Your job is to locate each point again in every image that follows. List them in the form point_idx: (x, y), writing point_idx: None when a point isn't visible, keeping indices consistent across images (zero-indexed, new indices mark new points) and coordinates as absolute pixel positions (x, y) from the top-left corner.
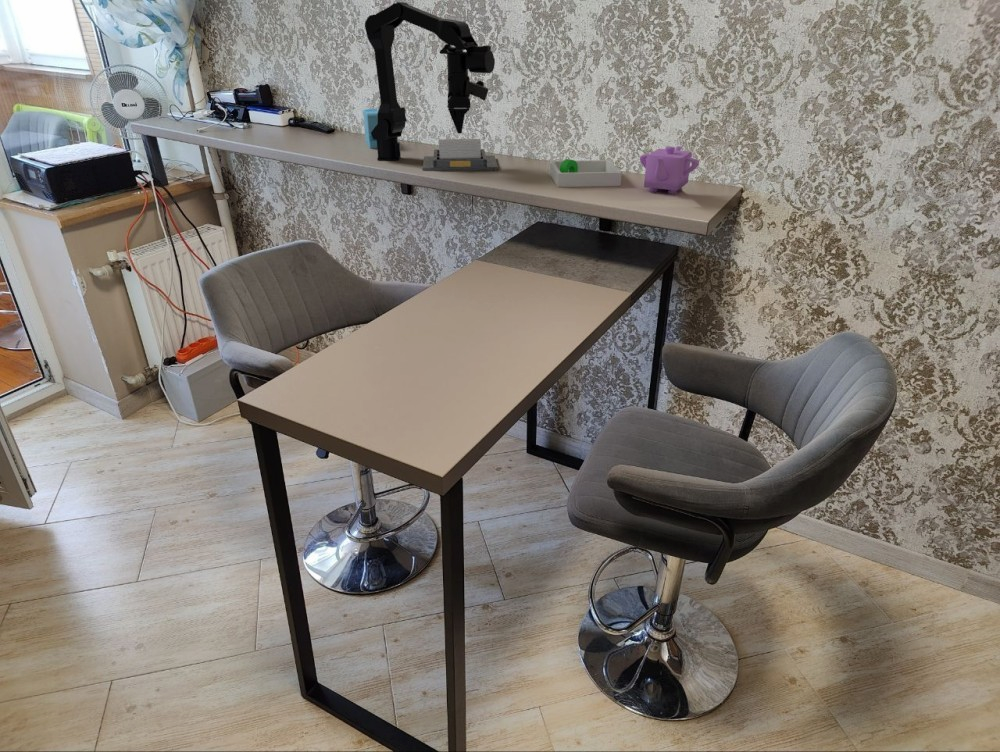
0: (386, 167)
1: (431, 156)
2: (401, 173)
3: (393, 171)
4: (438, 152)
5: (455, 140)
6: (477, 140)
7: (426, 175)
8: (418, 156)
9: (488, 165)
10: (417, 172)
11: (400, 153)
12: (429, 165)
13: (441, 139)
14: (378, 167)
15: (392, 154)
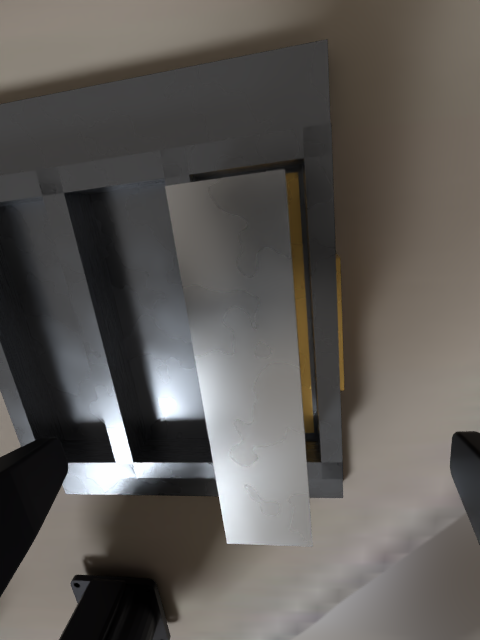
0: (252, 604)
1: None
2: (378, 559)
3: (333, 584)
4: None
5: (278, 428)
6: (277, 207)
7: (438, 466)
8: None
9: (278, 126)
10: (360, 503)
11: (98, 591)
12: None
13: (231, 528)
14: (253, 626)
15: (141, 621)
